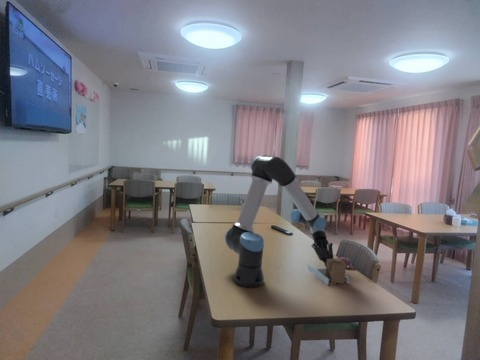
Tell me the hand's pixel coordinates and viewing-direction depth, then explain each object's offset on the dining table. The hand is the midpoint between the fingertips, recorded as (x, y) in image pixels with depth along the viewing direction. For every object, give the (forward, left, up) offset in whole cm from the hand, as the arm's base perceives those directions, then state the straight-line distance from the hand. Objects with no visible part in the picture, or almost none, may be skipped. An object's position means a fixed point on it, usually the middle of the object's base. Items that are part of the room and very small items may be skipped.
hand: (331, 272), depth 166 cm
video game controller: (+18, -10, -3) cm, 20 cm away
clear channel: (+1, +2, -3) cm, 3 cm away
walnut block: (-5, -1, -3) cm, 6 cm away
